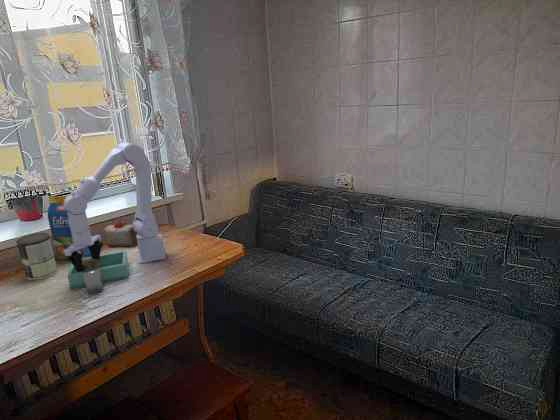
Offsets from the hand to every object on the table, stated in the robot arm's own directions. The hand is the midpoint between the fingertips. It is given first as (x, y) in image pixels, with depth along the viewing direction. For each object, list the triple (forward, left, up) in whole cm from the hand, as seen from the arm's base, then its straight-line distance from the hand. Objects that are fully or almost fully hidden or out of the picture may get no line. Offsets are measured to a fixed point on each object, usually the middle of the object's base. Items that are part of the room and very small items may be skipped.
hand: (88, 267), depth 145 cm
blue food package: (+8, -24, -4) cm, 25 cm away
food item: (-11, -30, -4) cm, 32 cm away
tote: (-4, 0, -4) cm, 5 cm away
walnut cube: (0, 0, -3) cm, 3 cm away
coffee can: (+18, -12, -4) cm, 22 cm away
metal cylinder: (-2, +12, -4) cm, 13 cm away
